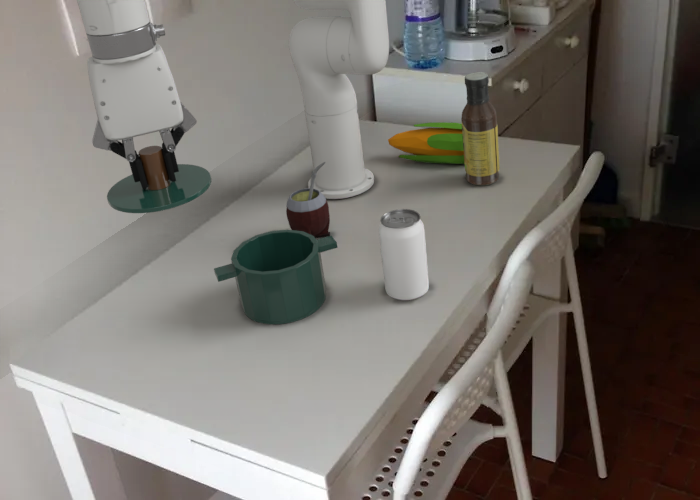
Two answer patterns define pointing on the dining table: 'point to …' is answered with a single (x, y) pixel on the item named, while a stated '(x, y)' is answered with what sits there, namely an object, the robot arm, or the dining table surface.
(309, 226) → the mate gourd
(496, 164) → the sauce bottle
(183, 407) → the dining table surface
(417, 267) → the can
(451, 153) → the corn
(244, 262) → the pot
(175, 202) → the pot lid
